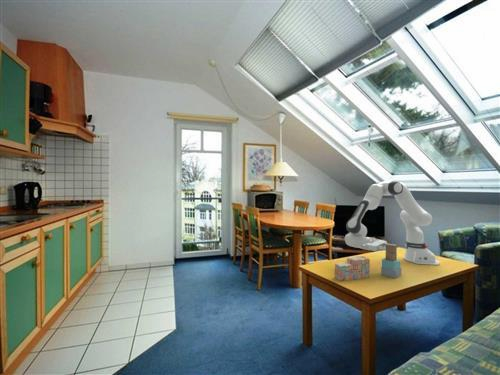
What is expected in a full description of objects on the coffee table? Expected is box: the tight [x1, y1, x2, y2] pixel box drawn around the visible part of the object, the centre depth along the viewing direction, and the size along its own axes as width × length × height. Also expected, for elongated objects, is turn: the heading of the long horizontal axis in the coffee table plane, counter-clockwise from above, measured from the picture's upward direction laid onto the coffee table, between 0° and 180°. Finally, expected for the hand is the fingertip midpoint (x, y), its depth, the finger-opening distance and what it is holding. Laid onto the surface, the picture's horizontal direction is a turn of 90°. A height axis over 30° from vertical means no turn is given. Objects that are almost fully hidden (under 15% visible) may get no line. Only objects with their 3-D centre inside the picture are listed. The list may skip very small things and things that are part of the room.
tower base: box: [380, 266, 402, 279], centre depth 165 cm, size 9×9×5 cm
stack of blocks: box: [334, 256, 371, 282], centre depth 160 cm, size 21×6×12 cm, turn 106°
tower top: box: [381, 257, 401, 270], centre depth 165 cm, size 8×8×5 cm
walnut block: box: [385, 242, 398, 261], centre depth 165 cm, size 5×5×10 cm
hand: (388, 247), depth 165 cm, fingers open, 8 cm apart
